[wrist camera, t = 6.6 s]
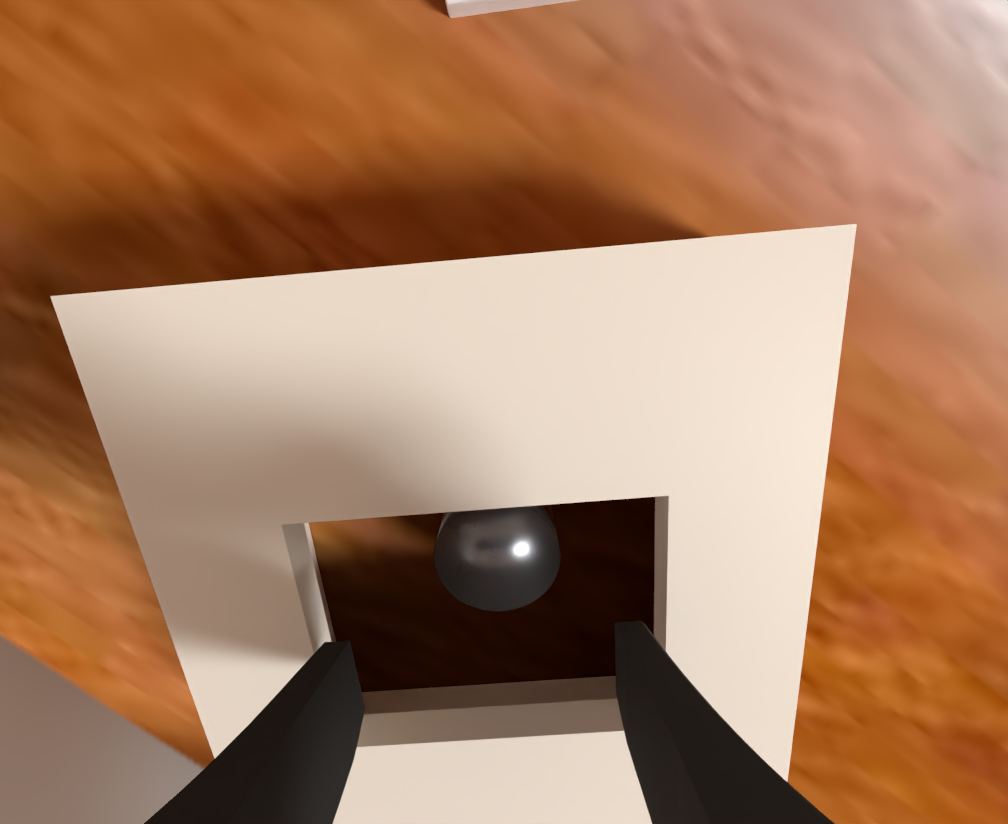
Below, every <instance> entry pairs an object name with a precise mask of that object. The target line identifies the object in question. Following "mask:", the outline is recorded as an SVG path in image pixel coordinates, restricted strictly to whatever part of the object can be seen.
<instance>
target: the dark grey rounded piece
mask: <svg viewBox="0 0 1008 824" xmlns="http://www.w3.org/2000/svg"><path fill="white" fill-rule="evenodd" d="M434 564H435V568H436V572H437V574H438V577H439V579H440V580H441V582H442V584H443V585H444V586H445V588H446V589H447V590H448V591H449V592H450V593H451V594H452V595H453V596H454V597H456V598H457V599H458V600H460V601H462V602H463V603H465V604H467V605H469V606H472V607H475V608H478V609H482V610H487V611H508V610H513V609H518V608H521V607H523V606H526V605H528V604H530V603H532V602H534V601H535V600H537V599H538V598H539V597H541V596H542V595H543V594H544V593H545V592H546V591H547V590H548V589H549V588H550V586H551V585H552V583H553V582H554V580H555V578H556V576H557V573H558V570H559V566H560V547H559V542H558V537H557V531H556V526H555V521H554V516H553V511H552V506H551V505H538V506H524V507H511V508H498V509H484V510H471V511H457V512H444V513H443V517H442V521H441V525H440V528H439V532H438V536H437V540H436V544H435V548H434Z"/></svg>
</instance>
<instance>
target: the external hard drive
mask: <svg viewBox="0 0 1008 824" xmlns="http://www.w3.org/2000/svg"><path fill="white" fill-rule="evenodd" d="M570 1H577V0H445V2H446V7H447V11H448V15H449V17H450V18H455V17H463V16H470V15H478V14H484V13H490V12H499V11H506V10H513V9H520V8H527V7H534V6H541V5H548V4H555V3H562V2H570Z"/></svg>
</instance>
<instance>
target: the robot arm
mask: <svg viewBox="0 0 1008 824" xmlns="http://www.w3.org/2000/svg"><path fill="white" fill-rule="evenodd" d="M615 671H616V695H617V700H618V705H619V709H620V714H621V719H622V724H623V728H624V733H625V737H626V742H627V745H628V748H629V752H630V755H631V758H632V761H633V764H634V768H635V771H636V774H637V777H638V780H639V783H640V787H641V790H642V793H643V796H644V799H645V802H646V806H647V809H648V812H649V815H650V818H651V821H652V824H834V823H833V822H832V821H831V820H829V819H828V818H827V817H826V816H825V815H824V814H822V813H821V812H820V811H819V810H818V809H817V808H816V807H814V806H813V805H812V804H811V803H810V802H809V801H808V800H807V799H805V798H804V797H803V796H802V795H801V794H800V793H799V792H798V791H796V790H795V789H794V788H793V787H792V786H791V785H790V784H789V783H788V782H787V781H785V780H784V779H783V778H782V777H781V776H780V775H779V774H778V773H777V772H776V771H775V770H774V769H773V768H771V767H770V766H769V765H768V764H767V763H766V762H765V761H764V760H763V759H762V758H761V757H760V756H759V755H758V754H757V753H756V752H755V751H754V750H753V749H752V748H751V747H750V746H749V745H748V744H747V743H746V742H745V741H744V740H743V739H742V738H741V737H740V736H739V735H738V734H737V733H736V732H735V731H734V730H733V728H732V727H731V726H730V725H729V724H728V723H727V722H726V721H725V720H724V719H723V718H722V717H721V716H720V715H719V714H718V713H717V711H716V710H715V709H714V708H713V707H712V706H711V705H710V704H709V703H708V701H707V700H706V699H705V698H704V697H703V696H702V695H701V693H700V692H699V691H698V690H697V689H696V688H695V686H694V685H693V684H692V683H691V682H690V681H689V680H688V678H687V677H686V676H685V675H684V674H683V672H682V671H681V670H680V669H679V668H678V666H677V665H676V664H675V663H674V661H673V660H672V659H671V658H670V656H669V655H668V654H667V652H666V651H665V650H664V649H663V647H662V646H661V645H660V643H659V642H658V641H657V639H656V638H655V637H654V635H653V634H652V633H651V631H650V630H649V628H648V627H647V626H646V625H645V624H644V623H643V622H642V621H632V622H617V623H615ZM364 711H365V706H364V701H363V697H362V692H361V688H360V683H359V679H358V674H357V670H356V665H355V661H354V656H353V652H352V647H351V643H350V641H336V642H324V643H323V644H322V646H321V647H320V648H319V649H318V650H317V651H316V652H315V653H314V654H313V655H312V656H311V657H310V659H309V660H308V661H307V662H306V663H305V664H304V665H303V666H302V667H301V668H300V669H299V671H298V672H297V673H296V674H295V675H294V676H293V677H292V678H291V679H290V681H289V682H288V683H287V684H286V685H285V686H284V687H283V688H282V689H281V690H280V692H279V693H278V694H277V695H276V696H275V697H274V698H273V699H272V700H271V701H270V702H269V703H268V705H267V706H266V707H265V708H264V709H263V710H262V711H261V712H260V713H259V714H258V715H257V716H256V717H255V718H254V719H253V721H252V722H251V723H250V724H249V725H248V726H247V727H246V728H245V729H244V730H243V731H242V732H241V733H240V734H239V735H238V736H237V737H236V738H235V739H234V740H233V741H232V742H231V743H230V744H229V745H228V746H227V747H226V748H225V749H224V750H223V751H222V752H221V753H220V754H219V755H218V756H217V757H216V758H215V759H214V760H213V761H212V762H211V763H210V764H209V765H208V766H207V767H206V768H205V769H204V770H203V771H202V772H201V773H200V774H199V775H198V776H197V777H195V778H194V779H193V780H192V781H191V782H190V783H189V784H188V785H187V786H186V787H185V788H184V789H183V790H181V791H180V792H179V793H178V794H177V795H176V796H175V797H174V798H173V799H171V800H170V801H169V802H168V803H167V804H166V805H165V806H163V807H162V808H161V809H160V810H159V811H158V812H157V813H156V814H154V815H153V816H152V817H151V818H150V819H149V820H148V821H147V822H145V823H144V824H333V821H334V818H335V815H336V812H337V809H338V806H339V803H340V800H341V797H342V794H343V791H344V788H345V785H346V782H347V779H348V776H349V773H350V770H351V767H352V764H353V760H354V757H355V752H356V748H357V744H358V739H359V735H360V730H361V726H362V721H363V716H364Z"/></svg>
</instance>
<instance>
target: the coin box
mask: <svg viewBox="0 0 1008 824" xmlns="http://www.w3.org/2000/svg"><path fill="white" fill-rule="evenodd" d="M856 226H857V224H851V225H840V226H829V227H818V228H807V229H796V230H784V231H773V232H762V233H751V234H740V235H729V236H717V237H706V238H695V239H684V240H673V241H662V242H650V243H639V244H628V245H617V246H606V247H595V248H583V249H572V250H561V251H550V252H539V253H527V254H516V255H505V256H494V257H483V258H472V259H460V260H449V261H438V262H427V263H416V264H405V265H393V266H382V267H371V268H360V269H349V270H338V271H326V272H315V273H304V274H293V275H282V276H271V277H259V278H248V279H237V280H226V281H215V282H204V283H192V284H181V285H170V286H159V287H148V288H136V289H125V290H114V291H103V292H92V293H81V294H69V295H58V296H50V297H51V300H52V303H53V306H54V308H55V311H56V314H57V317H58V320H59V323H60V325H61V328H62V331H63V334H64V337H65V339H66V342H67V345H68V348H69V351H70V353H71V356H72V359H73V362H74V365H75V368H76V370H77V373H78V376H79V379H80V382H81V384H82V387H83V390H84V393H85V396H86V398H87V401H88V404H89V407H90V410H91V413H92V415H93V418H94V421H95V424H96V427H97V429H98V432H99V435H100V438H101V441H102V444H103V446H104V449H105V452H106V455H107V458H108V460H109V463H110V466H111V469H112V472H113V474H114V477H115V480H116V483H117V486H118V489H119V491H120V494H121V497H122V500H123V503H124V505H125V508H126V511H127V514H128V517H129V519H130V522H131V525H132V528H133V531H134V534H135V536H136V539H137V542H138V545H139V548H140V550H141V553H142V556H143V559H144V562H145V565H146V567H147V570H148V573H149V576H150V579H151V581H152V584H153V587H154V590H155V593H156V595H157V598H158V601H159V604H160V607H161V610H162V612H163V615H164V618H165V621H166V624H167V626H168V629H169V632H170V635H171V638H172V640H173V643H174V646H175V649H176V652H177V655H178V657H179V660H180V663H181V666H182V669H183V671H184V674H185V677H186V680H187V683H188V686H189V688H190V691H191V694H192V697H193V700H194V702H195V705H196V708H197V711H198V714H199V716H200V719H201V722H202V725H203V728H204V731H205V733H206V736H207V739H208V742H209V745H210V747H211V750H212V753H213V756H214V759H215V758H216V757H217V756H218V755H219V754H220V753H221V752H222V751H223V750H224V749H225V748H226V747H227V746H228V745H229V744H230V743H231V742H232V741H233V740H234V739H235V738H236V737H237V736H238V735H239V734H240V733H241V732H242V731H243V730H244V729H245V728H246V727H247V726H248V725H249V724H250V723H251V722H252V721H253V719H254V718H255V717H256V716H257V715H258V714H259V713H260V712H261V711H262V710H263V709H264V708H265V707H266V706H267V705H268V703H269V702H270V701H271V700H272V699H273V698H274V697H275V696H276V695H277V694H278V693H279V692H280V690H281V689H282V688H283V687H284V686H285V685H286V684H287V683H288V682H289V681H290V679H291V678H292V677H293V676H294V675H295V674H296V673H297V672H298V671H299V669H300V668H301V667H302V666H303V665H304V664H305V663H306V662H307V661H308V660H309V659H310V657H311V656H312V655H313V654H314V653H315V652H316V651H317V650H318V649H319V648H320V647H321V646H322V644H323V643H324V642H336V640H335V635H334V631H333V627H332V622H331V618H330V614H329V609H328V605H327V601H326V596H325V592H324V588H323V583H322V579H321V575H320V571H319V566H318V562H317V558H316V553H315V549H314V545H313V540H312V536H311V532H310V527H309V523H310V522H324V521H337V520H350V519H364V518H377V517H391V516H404V515H417V514H431V513H444V512H457V511H471V510H484V509H498V508H511V507H524V506H538V505H551V504H564V503H578V502H591V501H605V500H618V499H631V498H645V497H655V559H654V637H655V638H656V639H657V641H658V642H659V643H660V645H661V646H662V647H663V649H664V650H665V651H666V652H667V654H668V655H669V656H670V658H671V659H672V660H673V661H674V663H675V664H676V665H677V666H678V668H679V669H680V670H681V671H682V672H683V674H684V675H685V676H686V677H687V678H688V680H689V681H690V682H691V683H692V684H693V685H694V686H695V688H696V689H697V690H698V691H699V692H700V693H701V695H702V696H703V697H704V698H705V699H706V700H707V701H708V703H709V704H710V705H711V706H712V707H713V708H714V709H715V710H716V711H717V713H718V714H719V715H720V716H721V717H722V718H723V719H724V720H725V721H726V722H727V723H728V724H729V725H730V726H731V727H732V728H733V730H734V731H735V732H736V733H737V734H738V735H739V736H740V737H741V738H742V739H743V740H744V741H745V742H746V743H747V744H748V745H749V746H750V747H751V748H752V749H753V750H754V751H755V752H756V753H757V754H758V755H759V756H760V757H761V758H762V759H763V760H764V761H765V762H766V763H767V764H768V765H769V766H770V767H771V768H773V769H774V770H775V771H776V772H777V773H778V774H779V775H780V776H781V777H782V778H783V779H784V780H785V781H787V780H788V772H789V764H790V756H791V748H792V740H793V732H794V724H795V716H796V708H797V700H798V692H799V684H800V676H801V668H802V660H803V652H804V644H805V636H806V628H807V620H808V612H809V604H810V596H811V587H812V579H813V571H814V563H815V555H816V547H817V539H818V531H819V523H820V515H821V507H822V499H823V491H824V483H825V475H826V467H827V459H828V451H829V443H830V435H831V427H832V419H833V411H834V403H835V395H836V387H837V378H838V370H839V362H840V354H841V346H842V338H843V330H844V322H845V314H846V306H847V298H848V290H849V282H850V274H851V266H852V258H853V250H854V242H855V234H856ZM362 697H363V701H364V706H365V711H364V716H363V721H362V726H361V730H360V735H359V739H358V744H357V748H356V752H355V757H354V760H353V764H352V767H351V770H350V773H349V776H348V779H347V782H346V785H345V788H344V791H343V794H342V797H341V800H340V803H339V806H338V809H337V812H336V815H335V818H334V821H333V824H652V821H651V818H650V815H649V812H648V809H647V806H646V802H645V799H644V796H643V793H642V790H641V787H640V783H639V780H638V777H637V774H636V771H635V768H634V764H633V761H632V758H631V755H630V752H629V748H628V745H627V742H626V737H625V733H624V728H623V724H622V719H621V714H620V709H619V705H618V700H617V695H616V676H606V677H590V678H575V679H559V680H544V681H528V682H513V683H497V684H482V685H466V686H451V687H435V688H420V689H404V690H389V691H373V692H362Z"/></svg>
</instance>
